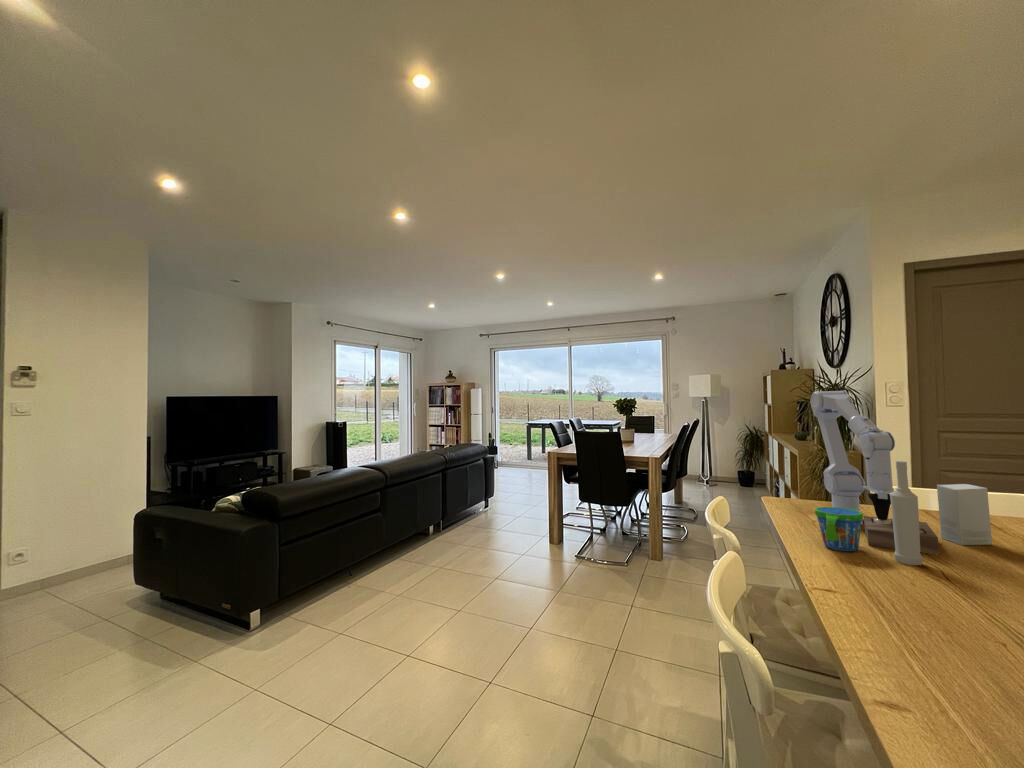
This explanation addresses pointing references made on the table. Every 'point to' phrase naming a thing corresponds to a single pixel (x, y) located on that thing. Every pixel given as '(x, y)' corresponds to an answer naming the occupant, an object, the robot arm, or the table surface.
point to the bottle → (905, 520)
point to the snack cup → (839, 527)
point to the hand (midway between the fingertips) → (882, 519)
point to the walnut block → (885, 536)
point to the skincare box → (964, 514)
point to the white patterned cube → (881, 521)
